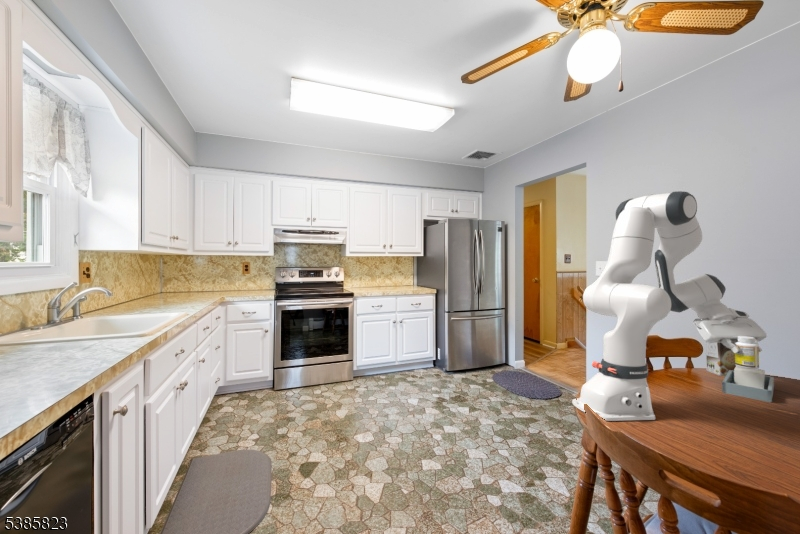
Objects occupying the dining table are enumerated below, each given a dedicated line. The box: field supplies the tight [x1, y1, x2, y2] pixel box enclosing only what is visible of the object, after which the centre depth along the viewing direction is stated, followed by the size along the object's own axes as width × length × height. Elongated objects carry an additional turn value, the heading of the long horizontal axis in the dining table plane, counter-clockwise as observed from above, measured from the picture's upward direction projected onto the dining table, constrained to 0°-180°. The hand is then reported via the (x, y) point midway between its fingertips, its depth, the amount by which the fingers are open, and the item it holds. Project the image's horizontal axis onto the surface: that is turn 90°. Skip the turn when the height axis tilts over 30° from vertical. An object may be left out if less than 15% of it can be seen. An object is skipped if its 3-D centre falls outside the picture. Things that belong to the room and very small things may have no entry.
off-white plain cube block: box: [734, 366, 766, 389], centre depth 115 cm, size 6×7×6 cm
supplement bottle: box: [734, 336, 760, 369], centre depth 109 cm, size 6×6×10 cm
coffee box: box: [705, 341, 736, 377], centre depth 129 cm, size 9×6×16 cm
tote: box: [721, 370, 775, 403], centre depth 112 cm, size 20×11×4 cm, turn 129°
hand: (748, 351), depth 108 cm, fingers closed on supplement bottle, 6 cm apart
